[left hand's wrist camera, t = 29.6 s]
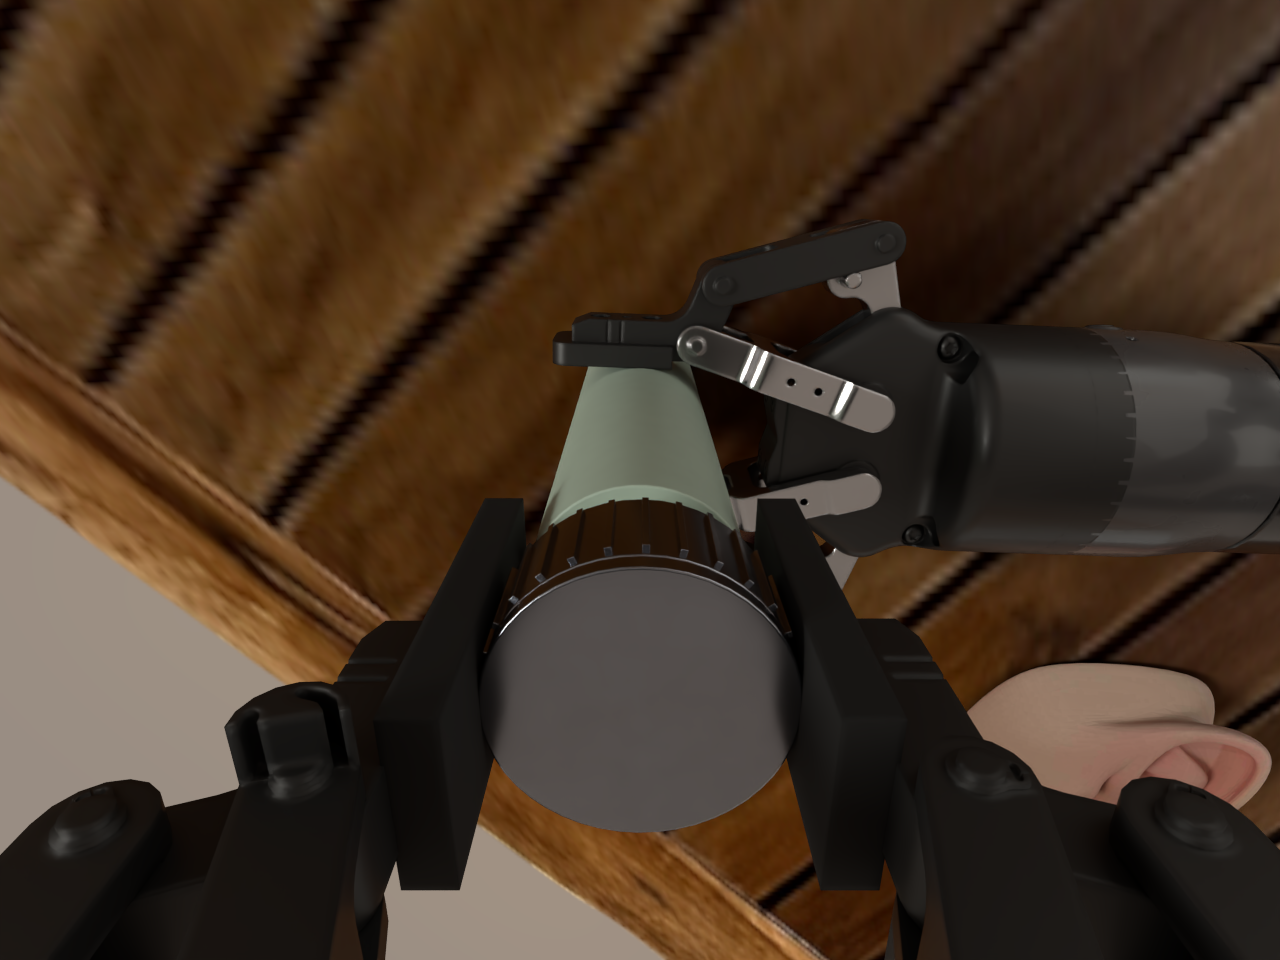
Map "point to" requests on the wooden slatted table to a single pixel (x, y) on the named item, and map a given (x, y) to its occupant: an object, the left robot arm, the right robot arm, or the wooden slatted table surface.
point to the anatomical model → (1119, 731)
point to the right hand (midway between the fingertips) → (557, 423)
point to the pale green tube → (639, 446)
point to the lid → (640, 669)
